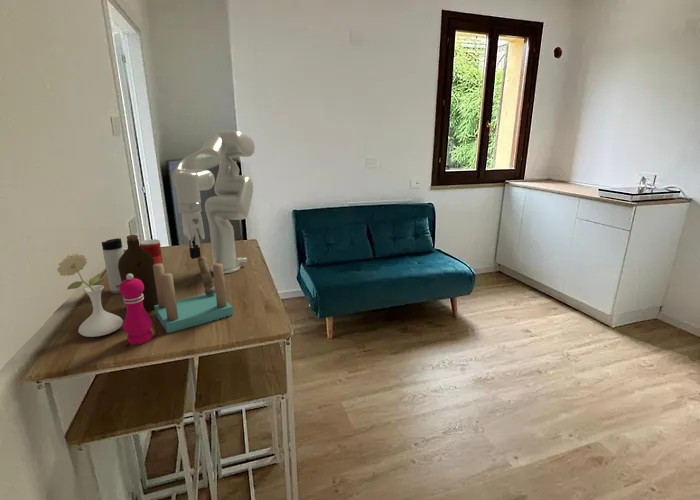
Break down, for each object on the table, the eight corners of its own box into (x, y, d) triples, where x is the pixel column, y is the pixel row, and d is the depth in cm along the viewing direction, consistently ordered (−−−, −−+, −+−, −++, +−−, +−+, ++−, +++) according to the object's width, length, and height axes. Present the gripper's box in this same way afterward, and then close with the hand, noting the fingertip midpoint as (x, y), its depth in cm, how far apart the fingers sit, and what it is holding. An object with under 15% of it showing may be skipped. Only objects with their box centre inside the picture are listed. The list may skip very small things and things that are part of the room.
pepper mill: (133, 333, 116) (121, 269, 110) (158, 332, 116) (148, 269, 110) (121, 346, 109) (108, 278, 103) (148, 345, 109) (137, 278, 103)
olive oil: (167, 303, 136) (157, 233, 128) (142, 316, 126) (129, 241, 119) (145, 298, 139) (134, 230, 132) (118, 311, 130) (104, 238, 123)
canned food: (166, 264, 175) (163, 240, 172) (149, 269, 169) (145, 245, 166) (156, 261, 179) (153, 238, 176) (139, 266, 173) (135, 242, 170)
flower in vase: (117, 318, 125) (103, 243, 117) (129, 331, 117) (114, 251, 110) (69, 332, 116) (50, 252, 109) (77, 347, 108) (58, 261, 101)
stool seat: (216, 298, 139) (211, 253, 134) (233, 315, 127) (228, 265, 122) (155, 313, 128) (147, 264, 123) (167, 333, 116) (159, 279, 111)
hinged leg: (214, 293, 137) (204, 256, 138) (216, 292, 134) (206, 254, 136) (205, 296, 135) (195, 258, 137) (207, 294, 132) (197, 256, 134)
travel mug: (122, 294, 143) (112, 241, 137) (106, 293, 144) (96, 240, 138) (134, 288, 149) (125, 237, 143) (119, 286, 150) (110, 236, 144)
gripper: (207, 209, 133) (212, 260, 138) (194, 203, 145) (199, 251, 150) (184, 212, 129) (190, 264, 134) (173, 205, 140) (179, 254, 145)
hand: (195, 257), depth 142 cm, fingers closed
